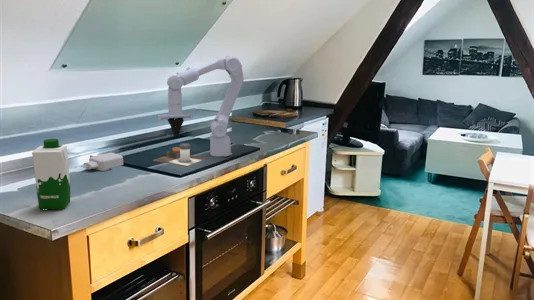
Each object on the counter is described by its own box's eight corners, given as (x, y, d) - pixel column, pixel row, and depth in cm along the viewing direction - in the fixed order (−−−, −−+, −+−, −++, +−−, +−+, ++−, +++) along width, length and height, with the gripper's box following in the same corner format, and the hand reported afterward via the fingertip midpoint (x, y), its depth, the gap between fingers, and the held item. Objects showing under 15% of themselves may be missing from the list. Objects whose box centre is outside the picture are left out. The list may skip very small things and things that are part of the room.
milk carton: (74, 200, 139) (68, 138, 134) (66, 210, 130) (60, 145, 125) (44, 201, 137) (37, 138, 132) (34, 212, 129) (27, 145, 124)
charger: (76, 170, 170) (110, 163, 182) (89, 175, 165) (123, 167, 177) (75, 158, 169) (109, 151, 181) (88, 163, 164) (123, 155, 176)
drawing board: (175, 154, 197) (175, 148, 196) (208, 160, 189) (208, 153, 188) (152, 162, 184) (151, 155, 183) (186, 168, 176) (186, 161, 175)
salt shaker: (184, 159, 186) (183, 142, 185) (192, 160, 184) (191, 144, 183) (177, 161, 183) (177, 144, 181) (186, 162, 181) (185, 146, 179)
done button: (175, 151, 193) (175, 146, 193) (181, 152, 192) (181, 147, 191) (171, 152, 191) (171, 148, 190) (177, 153, 189) (176, 149, 189)
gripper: (188, 102, 193) (189, 132, 196) (155, 103, 186) (156, 134, 190) (193, 104, 187) (194, 135, 190) (159, 105, 180) (161, 138, 184)
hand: (176, 135), depth 189 cm, fingers closed
